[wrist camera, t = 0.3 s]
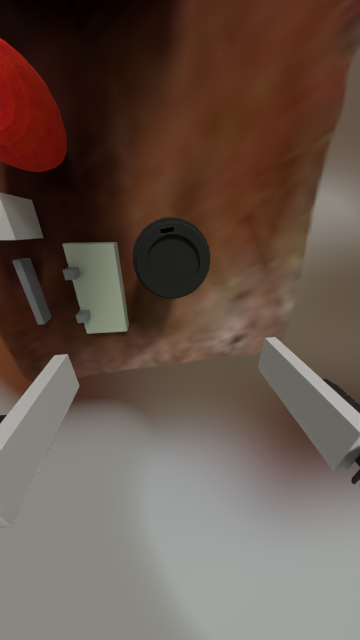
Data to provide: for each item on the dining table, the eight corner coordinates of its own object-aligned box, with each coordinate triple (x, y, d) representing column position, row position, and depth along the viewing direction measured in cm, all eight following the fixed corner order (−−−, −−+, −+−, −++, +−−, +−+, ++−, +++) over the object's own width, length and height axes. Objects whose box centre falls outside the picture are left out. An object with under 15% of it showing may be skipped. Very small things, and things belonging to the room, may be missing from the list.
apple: (12, 66, 22) (-120, -86, 12) (92, 127, 26) (46, 54, 15) (-3, 152, 26) (-117, 97, 15) (69, 197, 29) (18, 178, 18)
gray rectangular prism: (-7, 199, 28) (-53, 190, 22) (31, 200, 29) (-3, 191, 22) (9, 238, 30) (-29, 240, 24) (43, 237, 31) (15, 240, 25)
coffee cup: (148, 280, 36) (143, 309, 23) (133, 227, 32) (118, 225, 19) (194, 270, 37) (217, 294, 23) (187, 216, 32) (210, 207, 19)
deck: (17, 242, 31) (-10, 245, 26) (117, 242, 33) (110, 244, 28) (49, 328, 38) (34, 343, 34) (128, 324, 40) (125, 337, 35)
